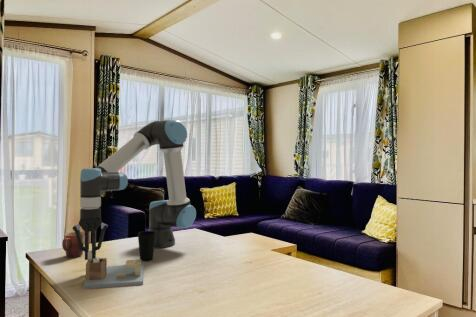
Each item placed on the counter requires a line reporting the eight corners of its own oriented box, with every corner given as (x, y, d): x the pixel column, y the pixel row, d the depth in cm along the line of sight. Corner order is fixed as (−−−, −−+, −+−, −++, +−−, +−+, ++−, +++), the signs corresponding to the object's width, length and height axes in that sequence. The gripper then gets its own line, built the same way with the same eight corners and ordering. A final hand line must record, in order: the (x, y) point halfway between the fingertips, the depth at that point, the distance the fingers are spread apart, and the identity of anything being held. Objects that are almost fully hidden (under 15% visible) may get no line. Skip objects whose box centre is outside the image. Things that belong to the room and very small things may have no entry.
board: (143, 266, 150) (143, 264, 150) (143, 284, 129) (143, 281, 129) (92, 270, 145) (92, 267, 145) (83, 288, 124) (83, 285, 124)
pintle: (99, 276, 134) (99, 257, 134) (98, 278, 132) (99, 259, 132) (93, 276, 134) (93, 257, 134) (92, 278, 131) (92, 259, 131)
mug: (72, 253, 170) (72, 231, 170) (88, 254, 168) (88, 232, 168) (54, 260, 158) (54, 236, 158) (72, 261, 156) (72, 238, 156)
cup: (157, 257, 164) (157, 231, 164) (151, 262, 156) (152, 234, 156) (141, 256, 165) (141, 230, 165) (134, 261, 157) (135, 234, 157)
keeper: (140, 270, 141) (141, 259, 141) (140, 277, 133) (140, 265, 133) (118, 272, 139) (118, 260, 139) (116, 278, 131) (116, 266, 131)
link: (92, 267, 144) (92, 252, 144) (109, 266, 146) (109, 251, 146) (85, 280, 129) (85, 263, 129) (104, 279, 131) (104, 262, 131)
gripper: (109, 205, 145) (108, 263, 145) (74, 206, 142) (74, 266, 142) (107, 208, 138) (106, 269, 138) (70, 209, 135) (70, 272, 135)
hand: (90, 267), depth 140 cm, fingers closed
